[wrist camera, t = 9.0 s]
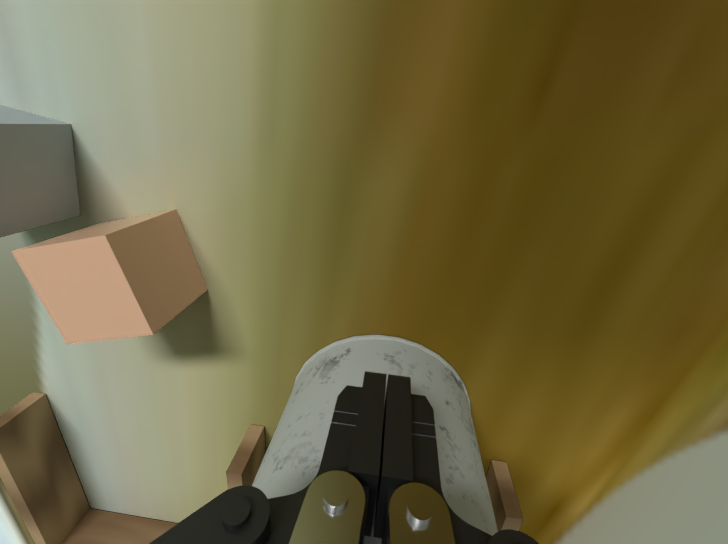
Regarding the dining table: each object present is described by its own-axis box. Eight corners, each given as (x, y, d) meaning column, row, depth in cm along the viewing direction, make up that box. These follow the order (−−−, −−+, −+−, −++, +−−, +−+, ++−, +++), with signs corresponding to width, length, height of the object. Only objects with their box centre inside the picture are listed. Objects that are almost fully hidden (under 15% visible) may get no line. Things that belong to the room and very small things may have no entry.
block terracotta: (101, 222, 16) (11, 251, 12) (177, 209, 15) (104, 235, 12) (138, 298, 17) (67, 343, 14) (208, 288, 17) (153, 334, 13)
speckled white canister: (478, 336, 16) (653, 840, 5) (463, 476, 20) (541, 944, 8) (281, 331, 17) (43, 726, 6) (302, 464, 21) (181, 863, 10)
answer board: (33, 392, 21) (-32, 438, 18) (506, 462, 19) (526, 529, 16) (84, 518, 26) (41, 572, 23) (463, 584, 24) (472, 654, 21)
